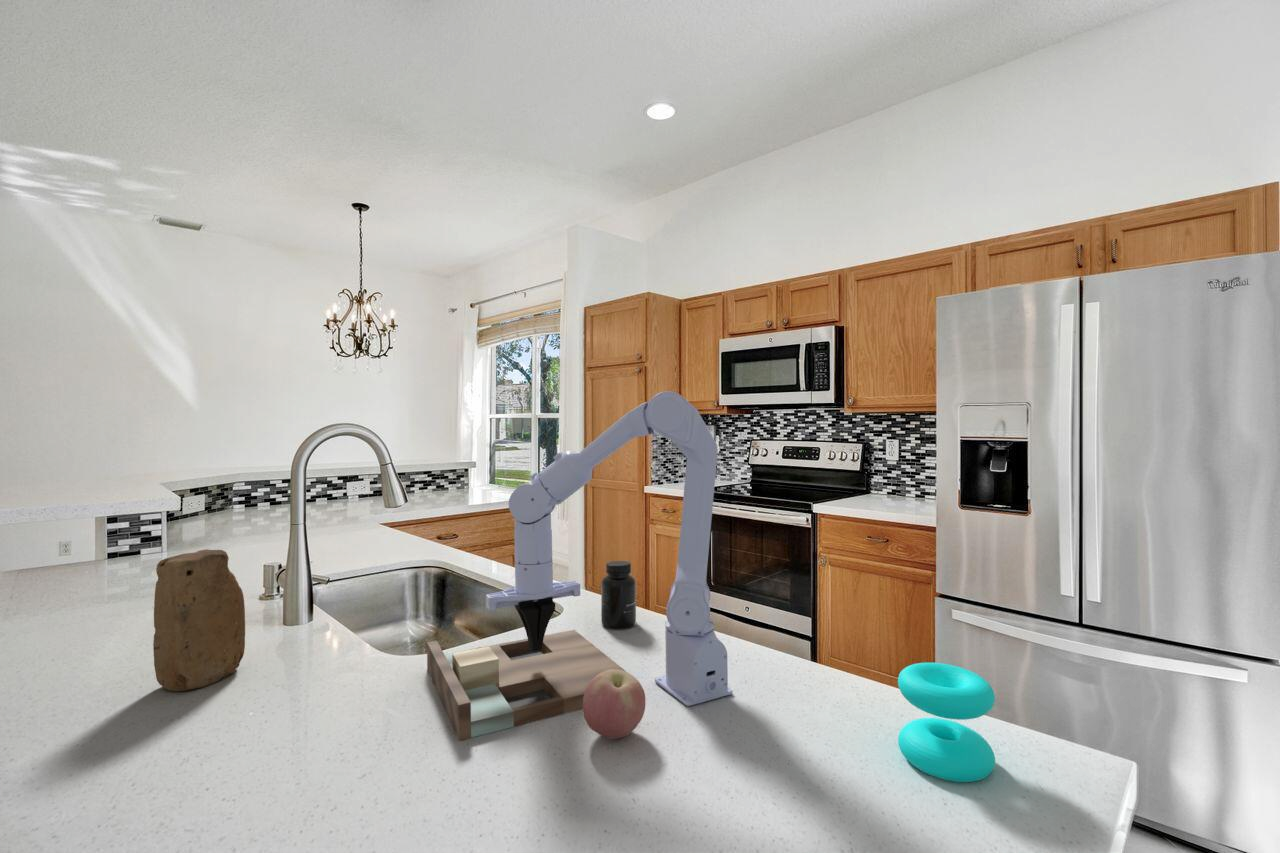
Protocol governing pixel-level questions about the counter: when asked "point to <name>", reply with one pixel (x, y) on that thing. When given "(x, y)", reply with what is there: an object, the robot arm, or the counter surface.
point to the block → (197, 620)
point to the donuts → (946, 721)
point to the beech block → (476, 667)
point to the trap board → (519, 683)
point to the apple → (614, 703)
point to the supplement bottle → (618, 596)
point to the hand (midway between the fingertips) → (535, 648)
